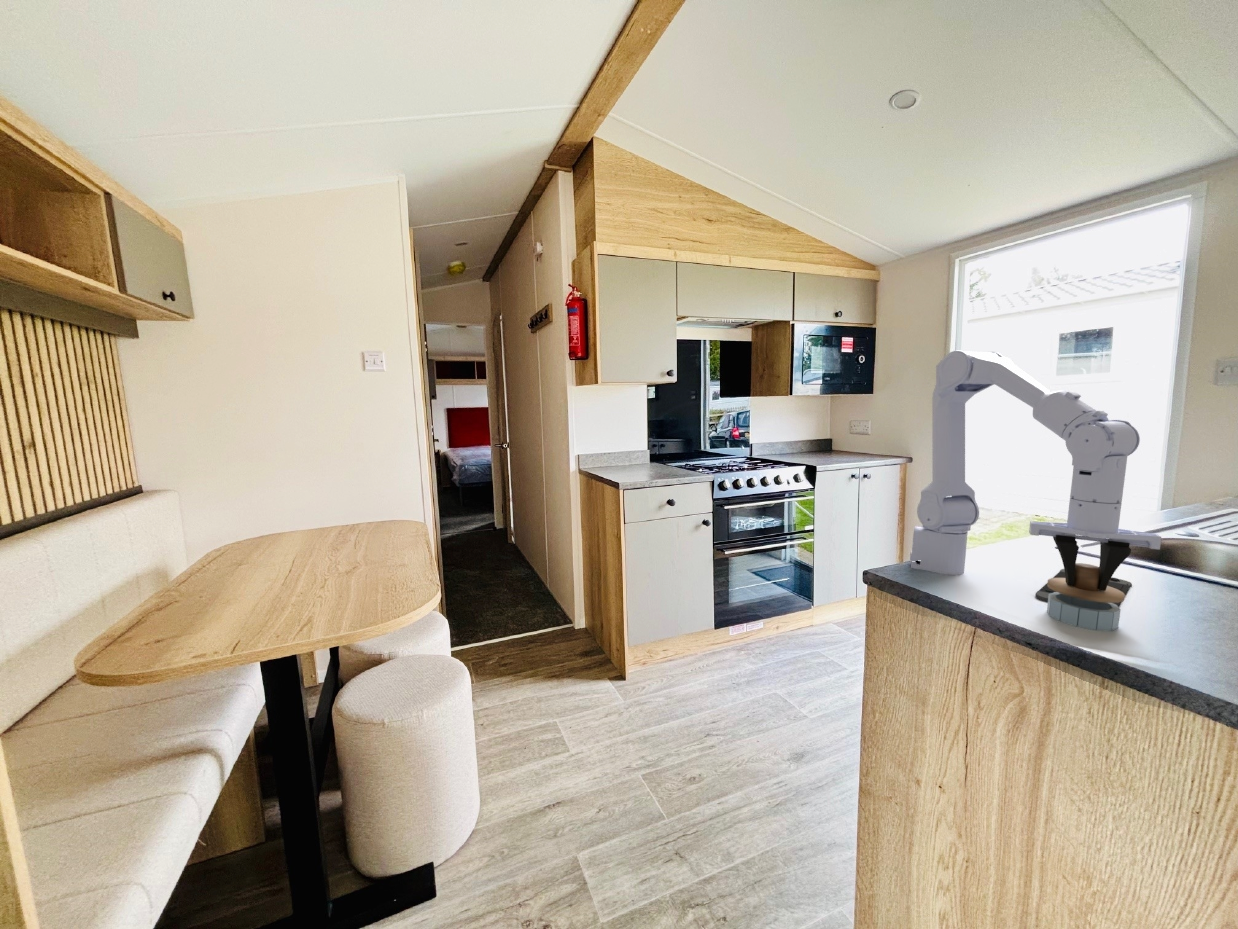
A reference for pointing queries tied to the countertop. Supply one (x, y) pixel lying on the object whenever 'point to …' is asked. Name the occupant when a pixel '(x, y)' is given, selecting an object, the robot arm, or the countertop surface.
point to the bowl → (1083, 612)
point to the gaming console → (1045, 590)
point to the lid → (1086, 586)
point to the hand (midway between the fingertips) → (1084, 586)
